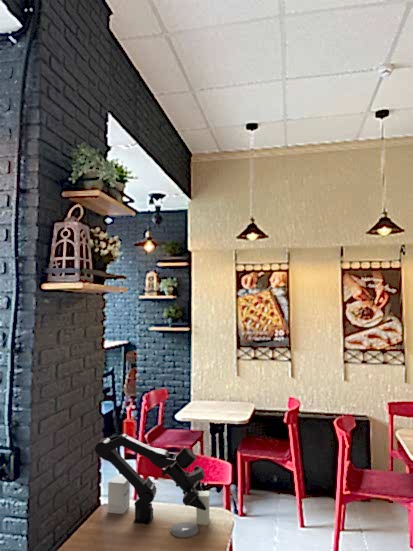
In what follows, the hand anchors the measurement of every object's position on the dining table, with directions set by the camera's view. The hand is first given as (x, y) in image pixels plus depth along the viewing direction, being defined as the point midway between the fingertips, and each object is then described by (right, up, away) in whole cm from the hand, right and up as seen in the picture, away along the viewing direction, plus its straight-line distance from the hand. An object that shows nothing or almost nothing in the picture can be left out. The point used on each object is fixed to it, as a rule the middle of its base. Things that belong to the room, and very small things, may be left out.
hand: (206, 504), depth 182 cm
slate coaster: (-9, -6, -8) cm, 13 cm away
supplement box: (-38, -8, +10) cm, 40 cm away
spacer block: (-1, -7, 0) cm, 7 cm away
